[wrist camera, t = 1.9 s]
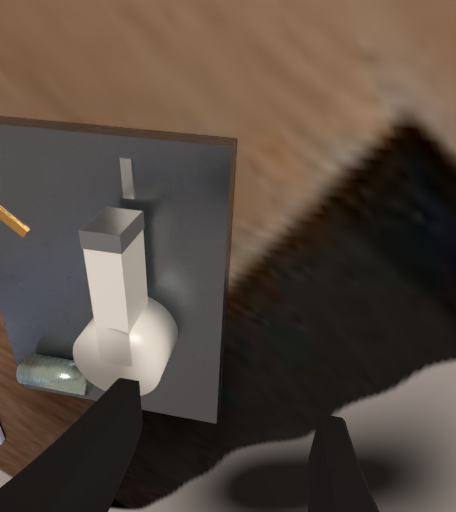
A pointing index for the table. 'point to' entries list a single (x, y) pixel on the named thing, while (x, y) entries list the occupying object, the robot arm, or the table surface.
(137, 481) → the table surface
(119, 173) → the base plate
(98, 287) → the white long bulbous piece
